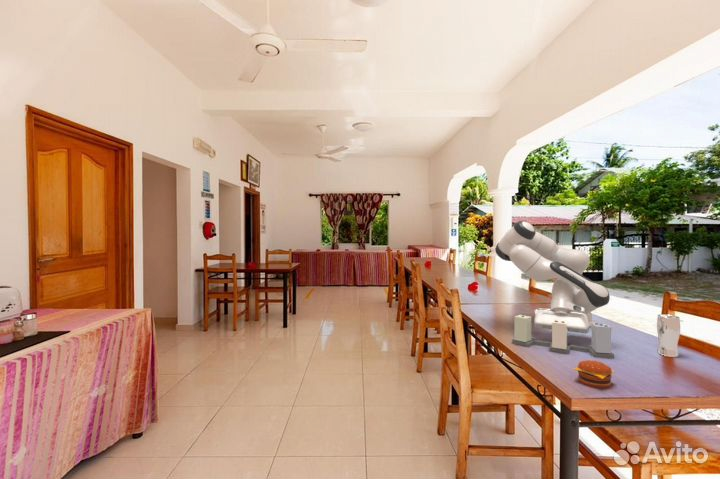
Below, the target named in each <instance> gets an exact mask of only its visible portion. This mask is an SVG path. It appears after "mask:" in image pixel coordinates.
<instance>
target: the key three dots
mask: <svg viewBox="0 0 720 479" xmlns="http://www.w3.org/2000/svg"><path fill="white" fill-rule="evenodd" d="M591 346H592V349H593V350H594V351H595V352H598V353H611V352H612V327H611V326H610V325H608V324H606V323H598V322H597V323H592V326H591Z"/></svg>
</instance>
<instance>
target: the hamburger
mask: <svg viewBox="0 0 720 479" xmlns="http://www.w3.org/2000/svg"><path fill="white" fill-rule="evenodd" d="M573 371H577V373H578V375H577V379H578V381H579V382H580V383H581V384H583V385H586V386H588V387H592V388H596V389H597V388H598V389H606V388H607V389H608V388H611V386H612V374H616V372H615V371H614V370H612V368H611V367H610V366H609V365H607V364H605V363H603V362H602V361H598V360H590V359H589V360H581V361H579V363H578V364H577V366H576V367H575V368H573Z"/></svg>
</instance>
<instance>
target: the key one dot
mask: <svg viewBox="0 0 720 479" xmlns="http://www.w3.org/2000/svg"><path fill="white" fill-rule="evenodd" d="M513 318H514V320H513V321H514V323H513V324H514V325H513V326H514V327H513V328H514V329H513V330H514V333H513V334H514V336H513V339H514V340H518V341H523V342H528V341H530V340H531V338H532V316H529V315H523V314H518V315H515V316H514V317H513Z"/></svg>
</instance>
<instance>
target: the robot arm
mask: <svg viewBox="0 0 720 479" xmlns="http://www.w3.org/2000/svg"><path fill="white" fill-rule="evenodd" d="M494 250H495V254H496V255H497V256H498V257H499V258H500V259H501V260H503V261H508V262H512V263H513V265H514V266H515V267H517V269H519V271H520V272H522V273H523V274H524V275H525V276H527V277H528V278H529V279H531V280H533V281H535V282H544V281H548V280H554V282H553V284H552V288H551V301H550V308H545V307H544V308H542V307H538V308H537V309H535V310H534V320H533V323H534V327H535V328H537V329H538V328H539V329H547V330H552V322H553V320H558V321H567V333H568V332H570V333H571V332H573V333H579V334H580V333H581V334H588V333H589V332H590V327H591V328H592V323H598V321H595V320H593V314H592V312H594V311H596V310H597V309H599V308H601V307H603V306H606V305H608V304H609V302H610V292H609V290H608V288H607V287H606V286H604V285H603V284H601V283H598V282H596V281H594V280H591V279H590V278H588V277H586V276H584V275H583V273H584V271H585V270H586V269H588V268H589V266H590V264H591V263H590V262H591V261H590V257H589V254H587V253H586V252H584V251H582V250H579V249H575V248H574V249H573V248H565V247H562V246H561V245H560V244H558V243H556V242H555V240H553V239H552V238H550V237H548V236H546V235H544V234H543V233H541V232H538V231H536V228H535V227H534V226H533V224H531V223H530V222H528V221H526V220H519V221H517V222H516V223H515V224H513V226H512V227H511V228H510V229H508V230H507V232H505V234H504V236H503V237H502V238H501V239H500V241H499V242H497V244H496V246H495V248H494Z"/></svg>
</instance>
